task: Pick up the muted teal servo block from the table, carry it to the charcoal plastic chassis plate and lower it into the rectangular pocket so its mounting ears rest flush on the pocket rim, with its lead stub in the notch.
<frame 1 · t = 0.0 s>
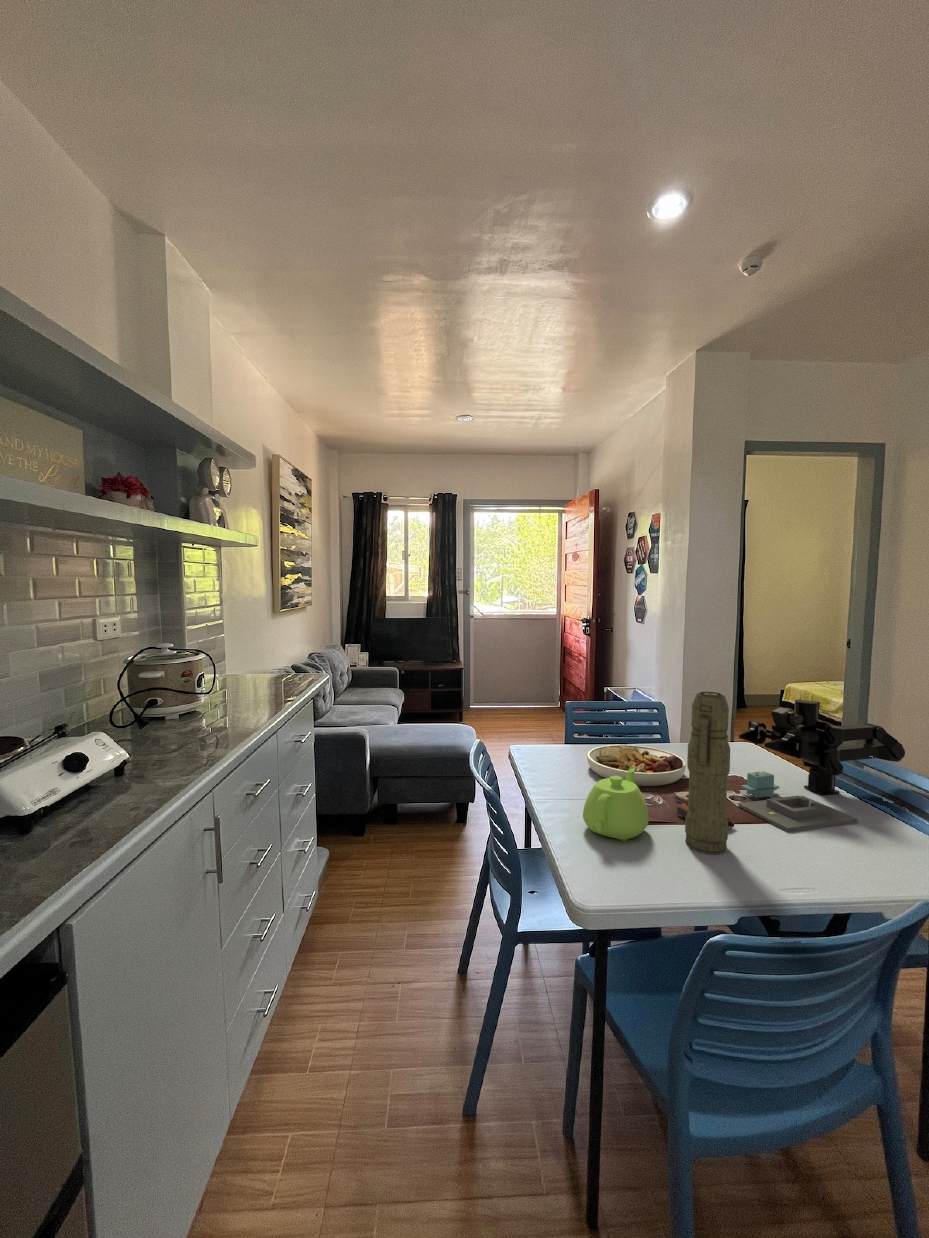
hand: (751, 740, 153), 17 cm above the table, tool horizontal, fingers open, 9 cm apart
servo: (760, 794, 157), on the table
bowl: (634, 773, 176), on the table
teapot: (616, 829, 134), on the table
thermos: (705, 846, 125), on the table
chassis: (795, 814, 143), on the table
walkie-talkie: (695, 817, 142), on the table
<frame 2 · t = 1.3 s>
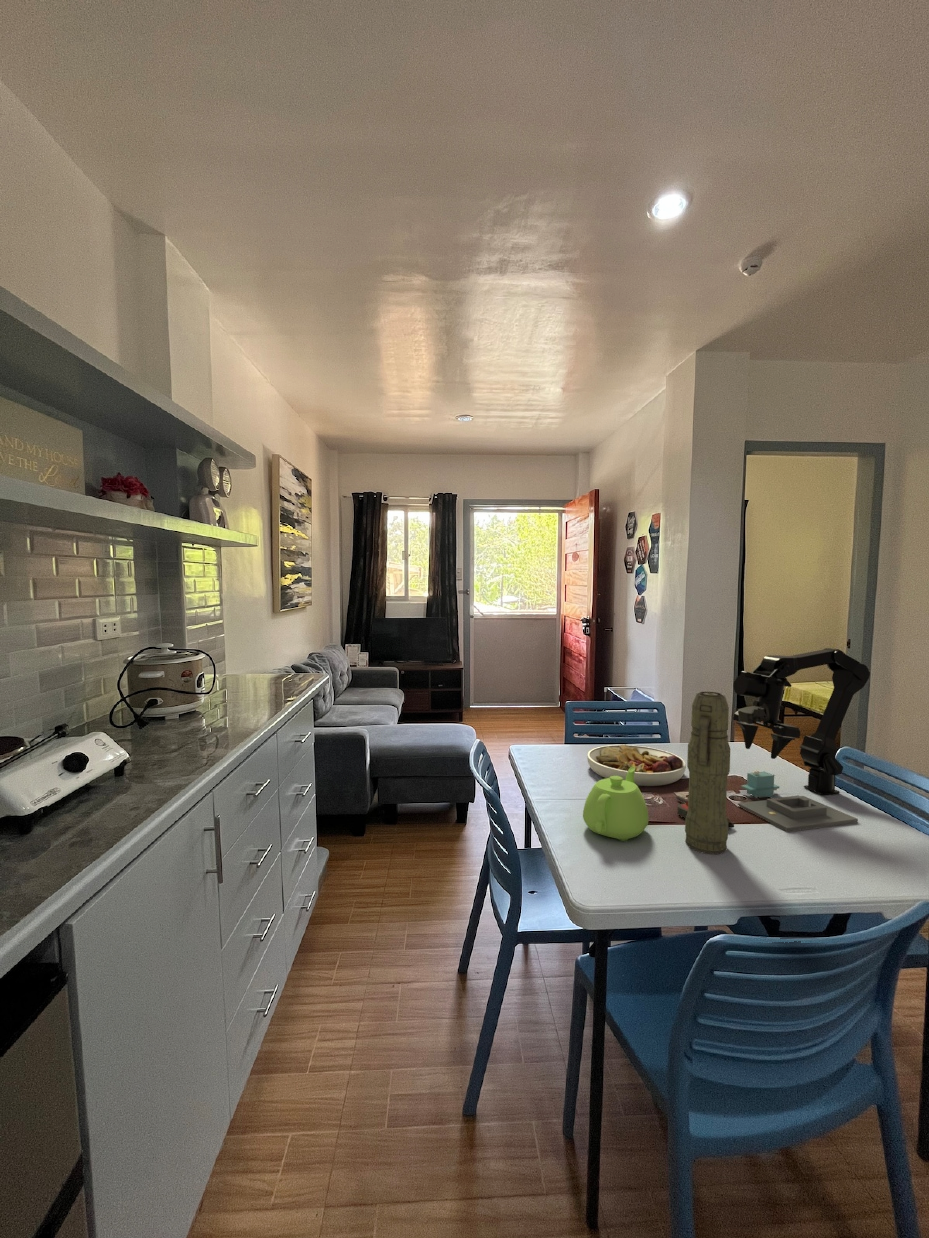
hand: (759, 753, 156), 12 cm above the table, tool pointing down, fingers open, 9 cm apart
nothing on the table moved.
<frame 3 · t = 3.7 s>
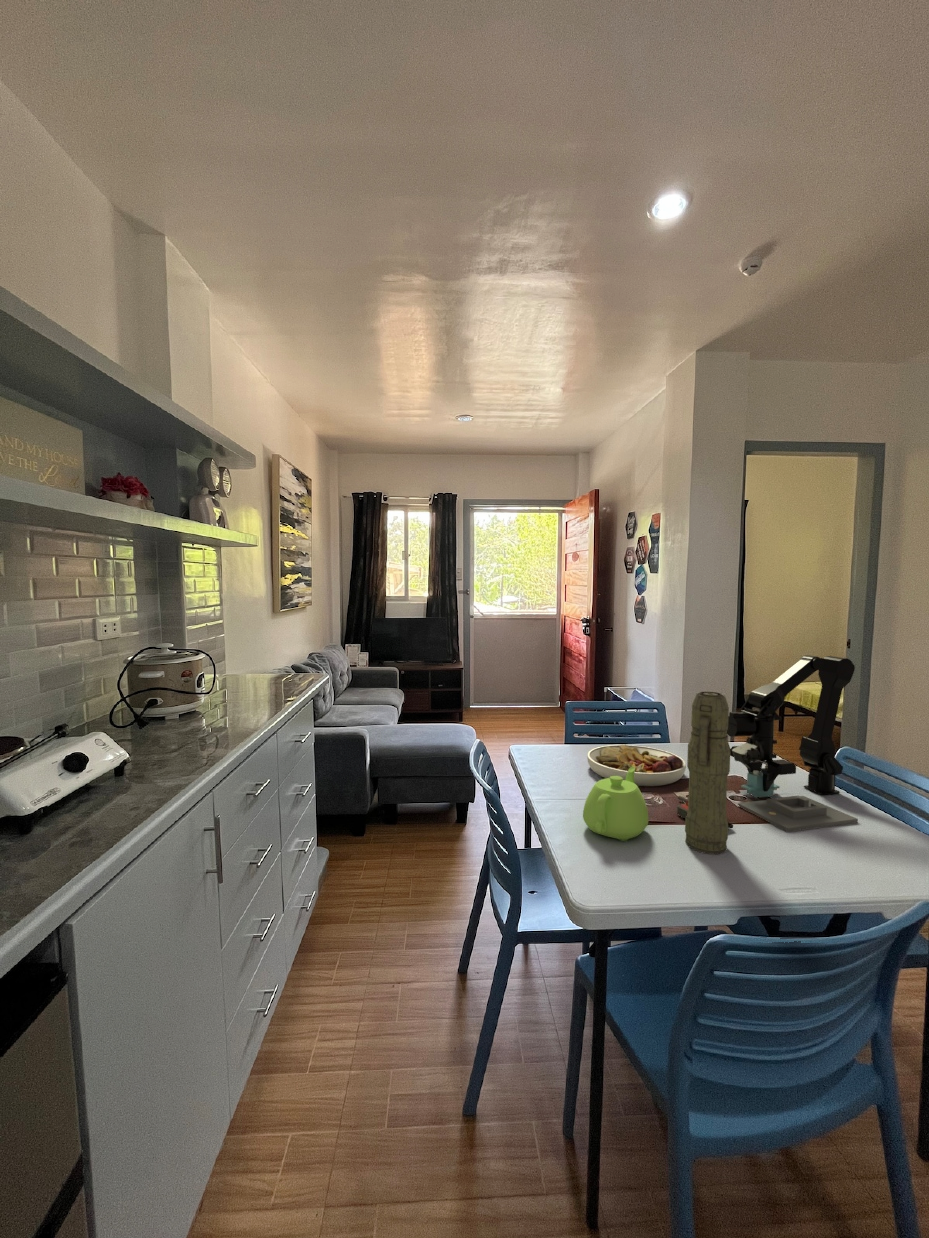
hand: (760, 788, 157), 2 cm above the table, tool pointing down, fingers closed on servo, 3 cm apart
servo: (760, 794, 157), on the table, touching gripper
everything else where it was.
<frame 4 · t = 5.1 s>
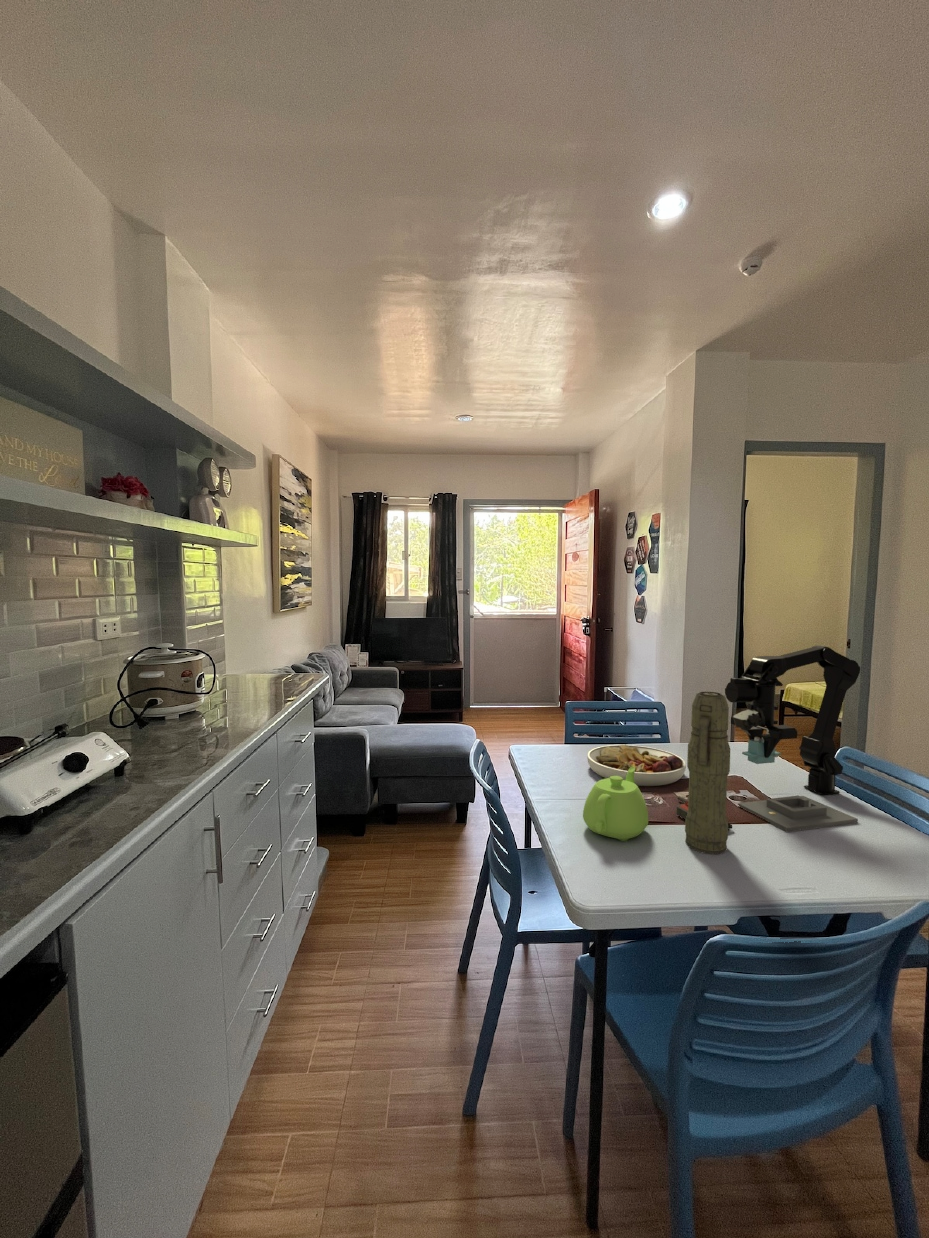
hand: (761, 755, 157), 11 cm above the table, tool pointing down, fingers closed on servo, 3 cm apart
servo: (761, 761, 157), point 10 cm above the table, touching gripper
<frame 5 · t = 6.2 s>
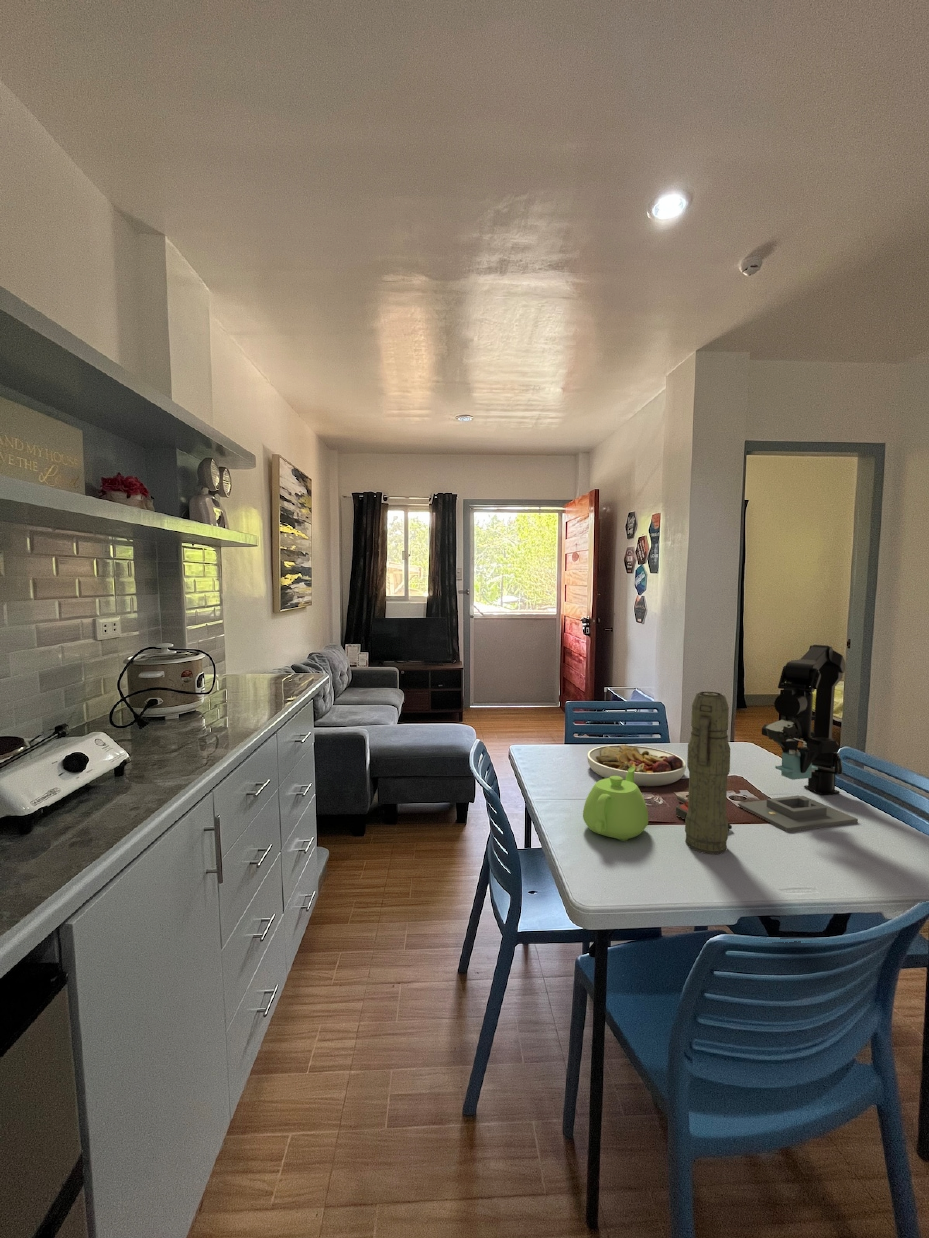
hand: (796, 770, 143), 12 cm above the table, tool pointing down, fingers closed on servo, 3 cm apart
servo: (796, 776, 143), point 10 cm above the table, touching gripper
everything else where it was.
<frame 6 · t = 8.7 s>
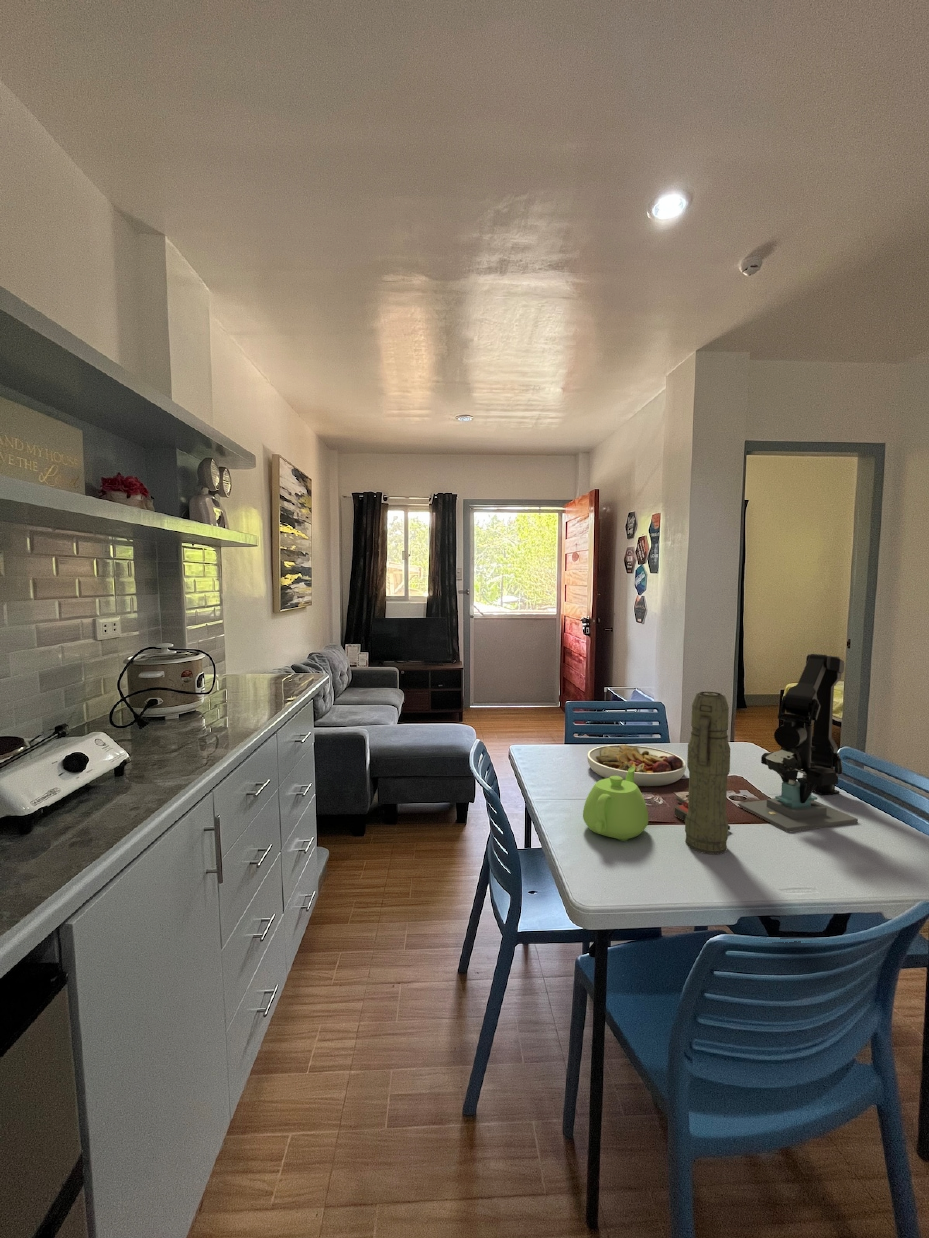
hand: (796, 800, 143), 4 cm above the table, tool pointing down, fingers closed on servo, 3 cm apart
servo: (795, 806, 143), point 2 cm above the table, touching gripper
when the fingers open (4 cm above the table, at t = 8.7 s): servo drops 1 cm, resting on chassis.
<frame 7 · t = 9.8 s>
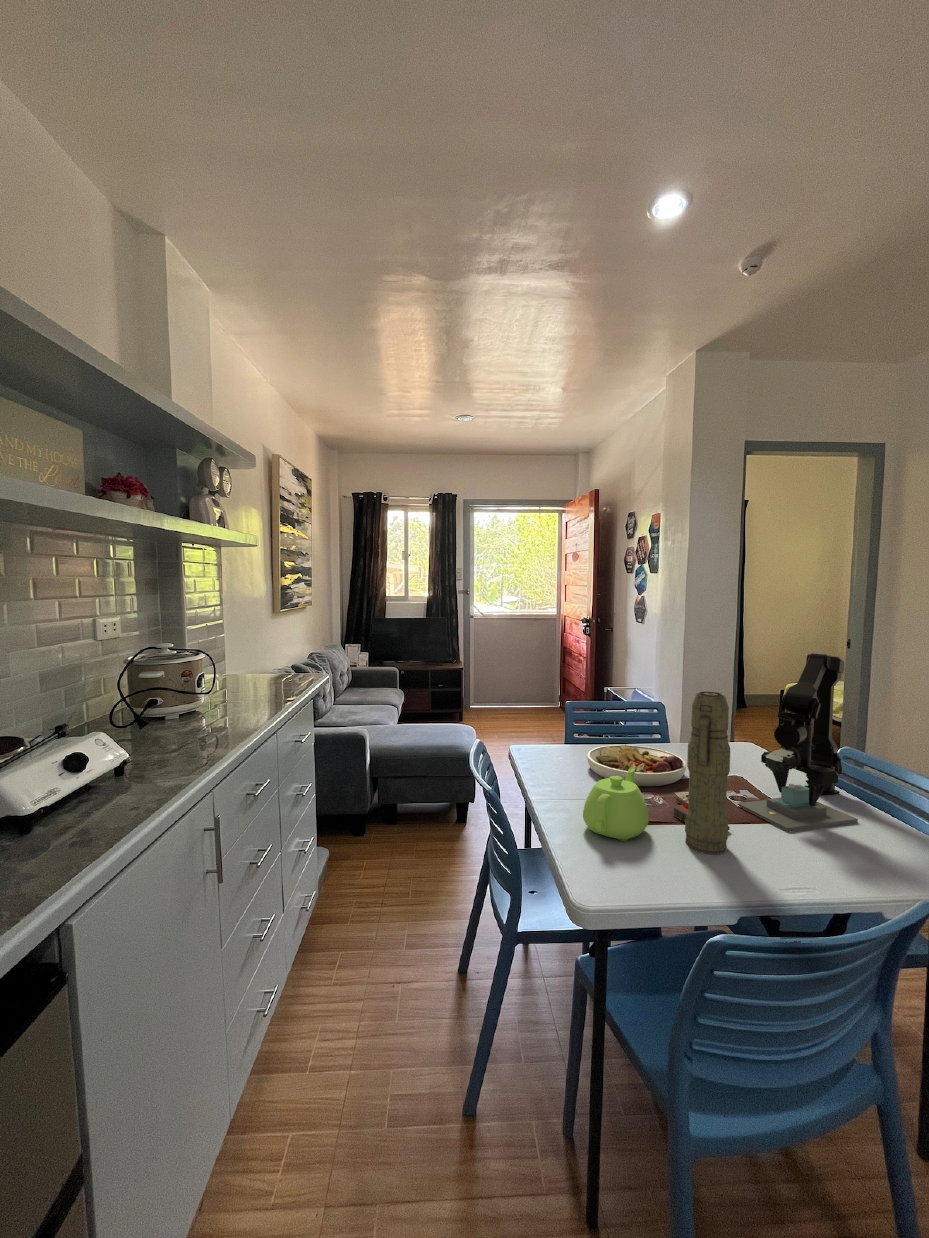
hand: (796, 798, 143), 4 cm above the table, tool pointing down, fingers open, 9 cm apart
servo: (795, 810, 143), point 1 cm above the table, touching chassis
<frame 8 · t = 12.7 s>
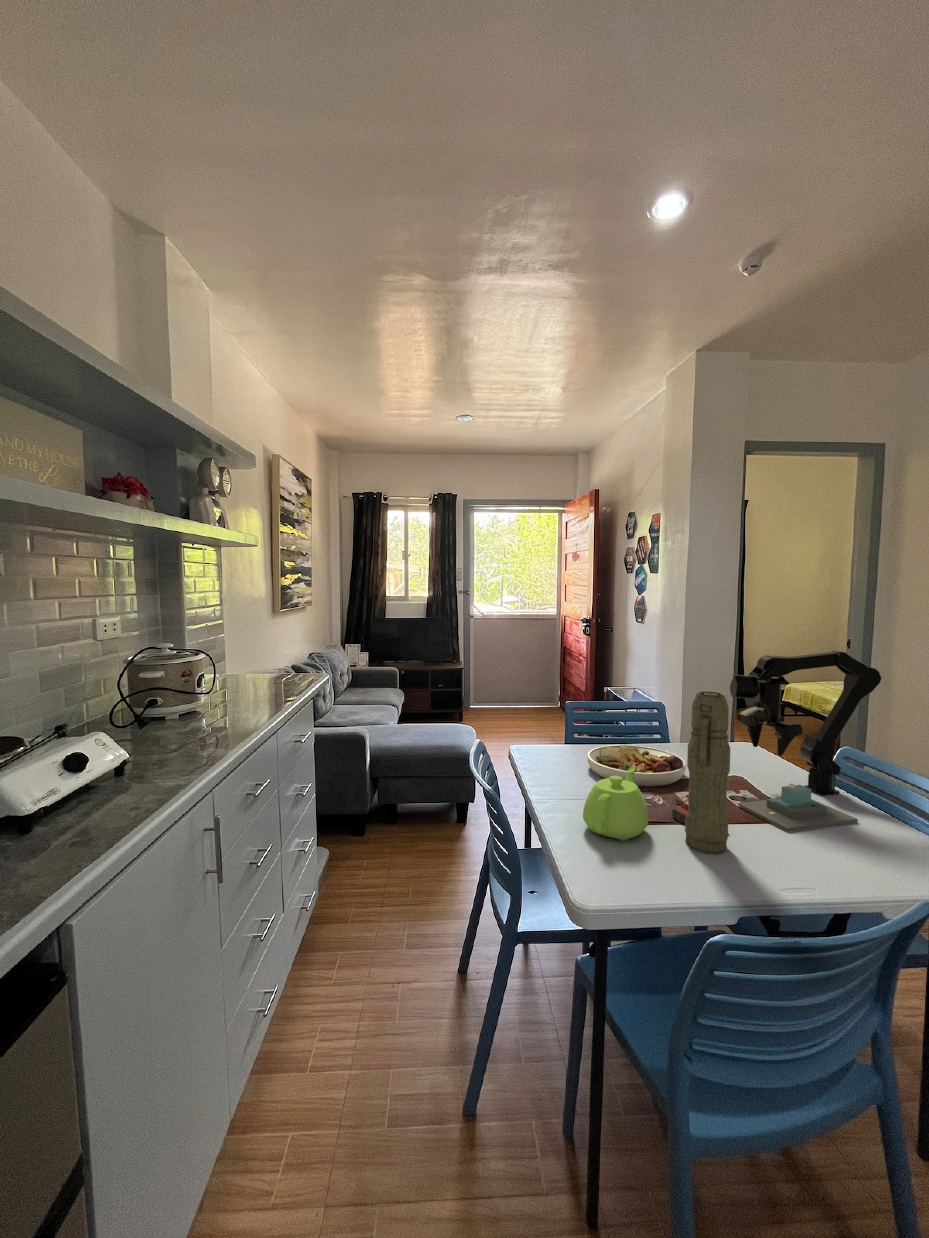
hand: (767, 751, 162), 11 cm above the table, tool pointing down, fingers open, 9 cm apart
at the end: servo 0.0 cm off-centre on the chassis, point 1.0 cm above the chassis's base; servo tilted 0°; the gripper is holding nothing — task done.
